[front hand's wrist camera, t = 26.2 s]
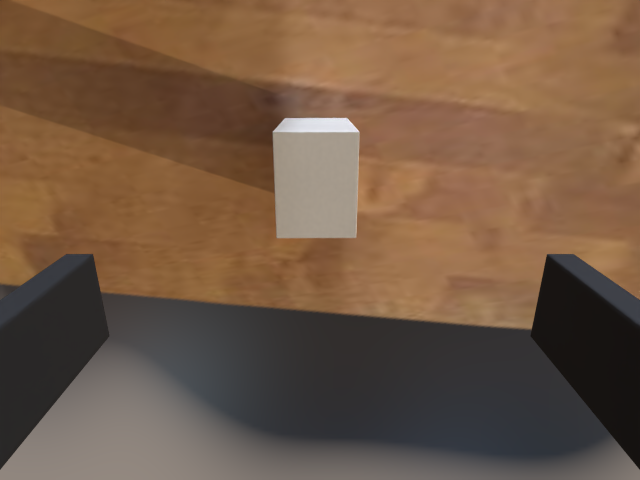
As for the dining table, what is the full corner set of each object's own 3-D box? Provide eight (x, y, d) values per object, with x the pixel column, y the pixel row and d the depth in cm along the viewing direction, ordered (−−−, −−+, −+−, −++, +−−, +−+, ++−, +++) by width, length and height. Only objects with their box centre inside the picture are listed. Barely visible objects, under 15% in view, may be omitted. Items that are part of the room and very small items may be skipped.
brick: (284, 118, 35) (272, 131, 25) (347, 118, 35) (359, 131, 26) (286, 197, 38) (276, 238, 28) (345, 197, 38) (356, 238, 28)
